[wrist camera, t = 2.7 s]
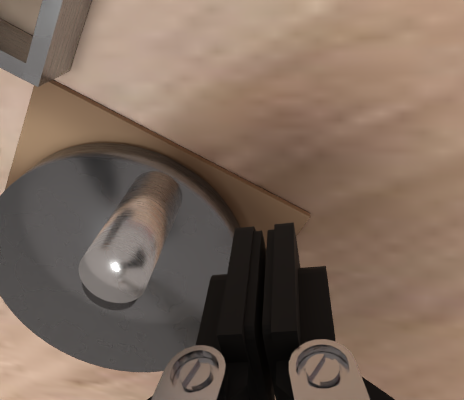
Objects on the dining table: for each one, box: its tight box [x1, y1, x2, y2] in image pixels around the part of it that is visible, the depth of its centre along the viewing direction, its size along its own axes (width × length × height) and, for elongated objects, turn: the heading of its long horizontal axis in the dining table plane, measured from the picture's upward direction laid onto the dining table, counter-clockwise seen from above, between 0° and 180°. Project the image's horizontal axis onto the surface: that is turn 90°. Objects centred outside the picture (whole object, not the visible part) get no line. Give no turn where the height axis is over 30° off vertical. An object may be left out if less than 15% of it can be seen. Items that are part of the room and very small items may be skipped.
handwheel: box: [0, 143, 241, 372], centre depth 21 cm, size 14×14×8 cm
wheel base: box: [0, 80, 310, 296], centre depth 25 cm, size 15×15×1 cm
